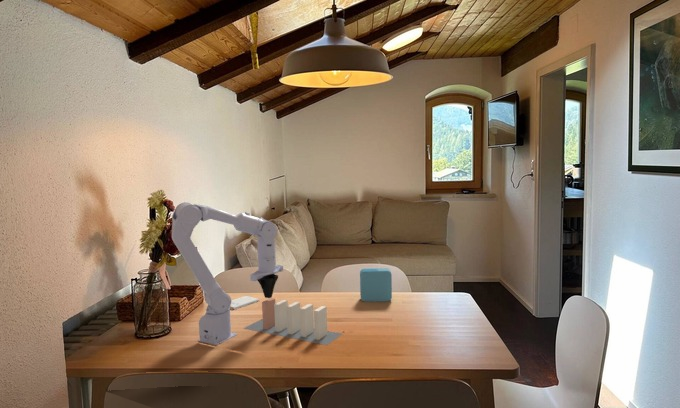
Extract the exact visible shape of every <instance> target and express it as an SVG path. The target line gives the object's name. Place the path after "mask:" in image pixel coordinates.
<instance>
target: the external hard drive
mask: <svg viewBox="0 0 680 408" xmlns="http://www.w3.org/2000/svg"><path fill="white" fill-rule="evenodd" d="M258 301H259V302H260V299H259V298H257V297H252V296H248V295H243V296H241V297H238V298H234V299H231V306H230V310H233V309H235V310H237V308H238V309H241V308H244V307H248V306H250V305H252V304H255V302H256V303H258ZM240 307H241V308H240Z"/></svg>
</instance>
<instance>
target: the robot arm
mask: <svg viewBox="0 0 680 408" xmlns="http://www.w3.org/2000/svg"><path fill="white" fill-rule="evenodd" d="M171 218H172V223H171V239H172V241H173V243H174V246H176V248H177V249H178V252H179V254H180V255H181V256H182V258H183V259H184V261H185V263H186V265H187V266H188V267H189V269H190V271H191V273H192V274H193V276H194V278H195V279H196V282H198V284H199V286H200V287H201V290H202V293H203V295H204V301H205V303H206V304H208V305H207V306H206V308H205V314H204V315H202V316H201V317H200V318H199V322H198V330H199V333H198V334H199V338H198V339H197V341H198V342H202V343H206V344H209V345H214V346H218V345H220V344H221V343H224V342H226V341H228V340H229V339H232V338H234V337H236V336H238V333H237V332H236V333H235V332H232V323H231V309H230V306H231V300H232V297H231V296H230V294H228V293H227V292H225V291H224V290H223V288H222V287H221V286H220V284H219V283H218V282H217V280H216V279H215V277H214V276H213V273H212V272H211V270H210V269H209V267H208V265H207V264H206V262H205V260H204V258H203V257H202V256H201V254H200V252H199V251H198V248H197V247H196V245H195V244H194V242H193V240H192V238H191V236H192V234H193V231H194V229H195V228H196V227H197V225H198V224H199V223H200V222H205V221H209V220H212V221H217V222H221V223H225V224H229V225H233V227H234V230H235V231H239V232H243V233H246V234H249V235H252V236H256V237H257V239H256V240H257V244H256V245H257V266H258V267H257V268H258V269H257V270H256V271H255V272H253V273H252V274H250V281H252V282H258V283H259V285H260V288H261V290H262V293H263V295H264V298H266V299H270V298H273V294H274V290H275V285H276V283H277V281H278V280H279V275H278V274H279V272H280V273H282V272H283V271H284V265H278V264H276V263H277V262H276V261H277V259H276V239H275V238H276V236H277V233H278V228H277V226H276V224H275V223H274V222H273V221H269V220H267V219H264V218H263V217H261V216H259V217H257V216H253V215H251V214H250V212H247V211H245V212H240V213H239V214H236V215H235V214H232V213H229V212H226V211H223V210H220V209H217V208H215V207H211V206H208V205H203V204H198V203H194V204H191V203H189V202H185V201H184V202H182V203H181V202H180V203H179V204H178V205H177V206H176V207H175V208H174V211H173V213H172V215H171Z"/></svg>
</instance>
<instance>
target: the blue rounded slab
mask: <svg viewBox="0 0 680 408" xmlns="http://www.w3.org/2000/svg"><path fill="white" fill-rule="evenodd" d="M392 276H393V275H392V272H391V270H390V269H389V268H363V269H361V270H360V271H359V277H360V278H359V283H360V284H359V286H360V289H359V292H360V300H361V301H362V302H367V303H368V302H370V303H371V302H389V301H391V300H392V299H393V296H392V295H393V292H392V290H393V288H392V287H393V286H392V282H393V281H392Z"/></svg>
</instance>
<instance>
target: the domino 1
mask: <svg viewBox="0 0 680 408" xmlns="http://www.w3.org/2000/svg"><path fill="white" fill-rule="evenodd" d="M274 304H276V298H274V297H271V298H267V299H266V300H263V301H262V302H261V309H262V319H263V329H269V328H271V327H273V326H275V311H274Z"/></svg>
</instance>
